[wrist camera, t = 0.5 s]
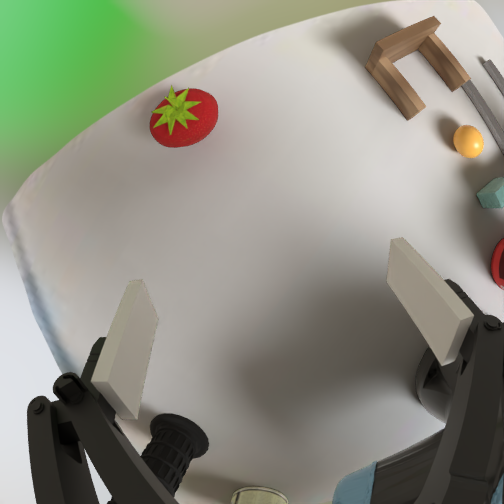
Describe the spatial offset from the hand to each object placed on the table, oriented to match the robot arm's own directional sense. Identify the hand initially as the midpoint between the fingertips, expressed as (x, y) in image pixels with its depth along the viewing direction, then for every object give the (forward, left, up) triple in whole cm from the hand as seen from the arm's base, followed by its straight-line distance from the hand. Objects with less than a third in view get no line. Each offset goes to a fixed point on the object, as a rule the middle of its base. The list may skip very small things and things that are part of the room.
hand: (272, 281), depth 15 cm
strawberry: (+17, +1, -19) cm, 26 cm away
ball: (-2, -25, -19) cm, 32 cm away
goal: (+8, -25, -19) cm, 33 cm away
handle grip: (-16, +31, -19) cm, 40 cm away
